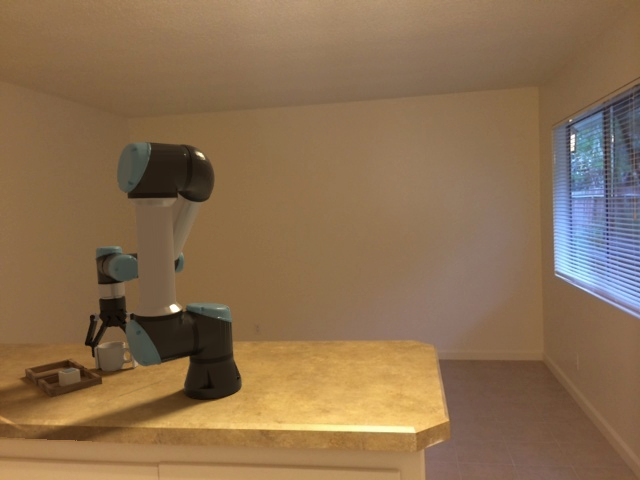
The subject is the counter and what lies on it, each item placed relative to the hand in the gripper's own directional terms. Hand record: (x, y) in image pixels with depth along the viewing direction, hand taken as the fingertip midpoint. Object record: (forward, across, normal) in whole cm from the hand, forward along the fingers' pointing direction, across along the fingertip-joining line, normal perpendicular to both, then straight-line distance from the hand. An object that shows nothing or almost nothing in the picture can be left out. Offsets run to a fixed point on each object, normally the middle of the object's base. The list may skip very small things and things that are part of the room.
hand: (117, 366), depth 153 cm
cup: (+1, 0, 0) cm, 1 cm away
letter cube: (0, +7, +14) cm, 16 cm away
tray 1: (+1, +17, +4) cm, 18 cm away
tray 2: (+1, +7, +14) cm, 16 cm away
